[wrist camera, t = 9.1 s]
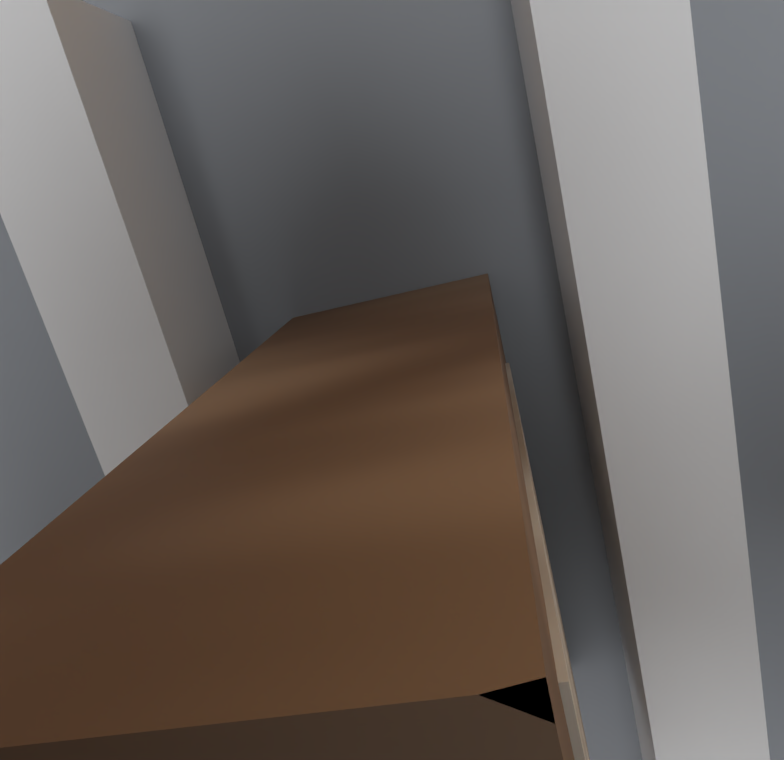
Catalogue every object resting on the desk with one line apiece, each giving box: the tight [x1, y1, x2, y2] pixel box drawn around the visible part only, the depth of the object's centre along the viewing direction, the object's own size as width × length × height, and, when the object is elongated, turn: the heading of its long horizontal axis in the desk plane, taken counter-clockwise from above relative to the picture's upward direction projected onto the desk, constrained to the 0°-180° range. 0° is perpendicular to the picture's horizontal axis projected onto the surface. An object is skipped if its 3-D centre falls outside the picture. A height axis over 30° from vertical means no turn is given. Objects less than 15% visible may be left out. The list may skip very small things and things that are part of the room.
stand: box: [0, 0, 784, 760], centre depth 11 cm, size 18×18×4 cm
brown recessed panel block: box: [0, 274, 590, 760], centre depth 7 cm, size 3×7×8 cm, turn 14°
